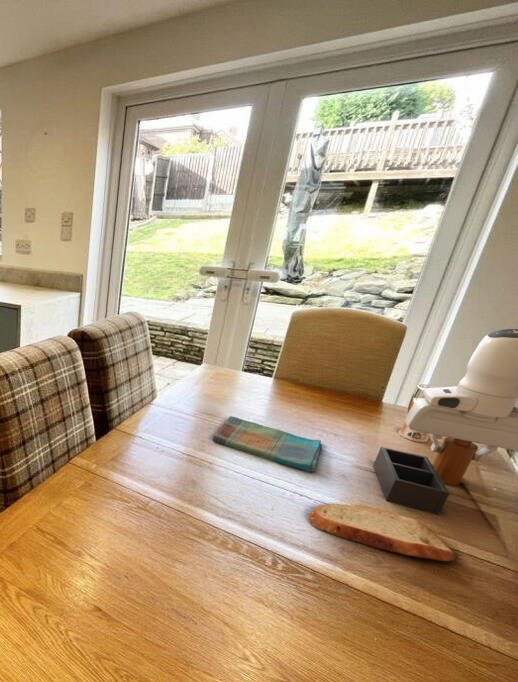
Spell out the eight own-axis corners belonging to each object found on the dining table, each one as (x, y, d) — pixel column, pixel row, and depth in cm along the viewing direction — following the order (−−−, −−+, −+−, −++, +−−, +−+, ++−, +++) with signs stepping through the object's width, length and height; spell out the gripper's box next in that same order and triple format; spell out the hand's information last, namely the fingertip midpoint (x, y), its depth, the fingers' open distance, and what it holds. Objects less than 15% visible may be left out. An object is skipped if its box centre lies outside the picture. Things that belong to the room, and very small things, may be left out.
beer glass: (390, 432, 115) (410, 385, 109) (406, 429, 117) (426, 382, 111) (419, 444, 109) (442, 395, 103) (435, 441, 110) (459, 392, 105)
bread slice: (298, 517, 82) (304, 502, 80) (354, 497, 88) (360, 483, 86) (404, 587, 66) (412, 570, 65) (463, 557, 72) (472, 541, 71)
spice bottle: (454, 477, 95) (479, 429, 90) (462, 488, 91) (488, 439, 86) (425, 470, 97) (447, 423, 93) (431, 480, 93) (455, 433, 89)
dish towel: (313, 476, 95) (317, 467, 94) (211, 442, 109) (213, 434, 108) (321, 447, 107) (324, 439, 106) (228, 420, 121) (230, 413, 120)
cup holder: (418, 476, 95) (427, 456, 93) (438, 515, 83) (449, 493, 80) (372, 465, 99) (380, 446, 97) (385, 500, 87) (395, 479, 85)
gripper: (546, 407, 84) (514, 462, 89) (416, 387, 94) (394, 437, 99) (562, 419, 79) (528, 476, 84) (423, 396, 89) (400, 448, 94)
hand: (454, 455), depth 92 cm, fingers closed on spice bottle, 5 cm apart
